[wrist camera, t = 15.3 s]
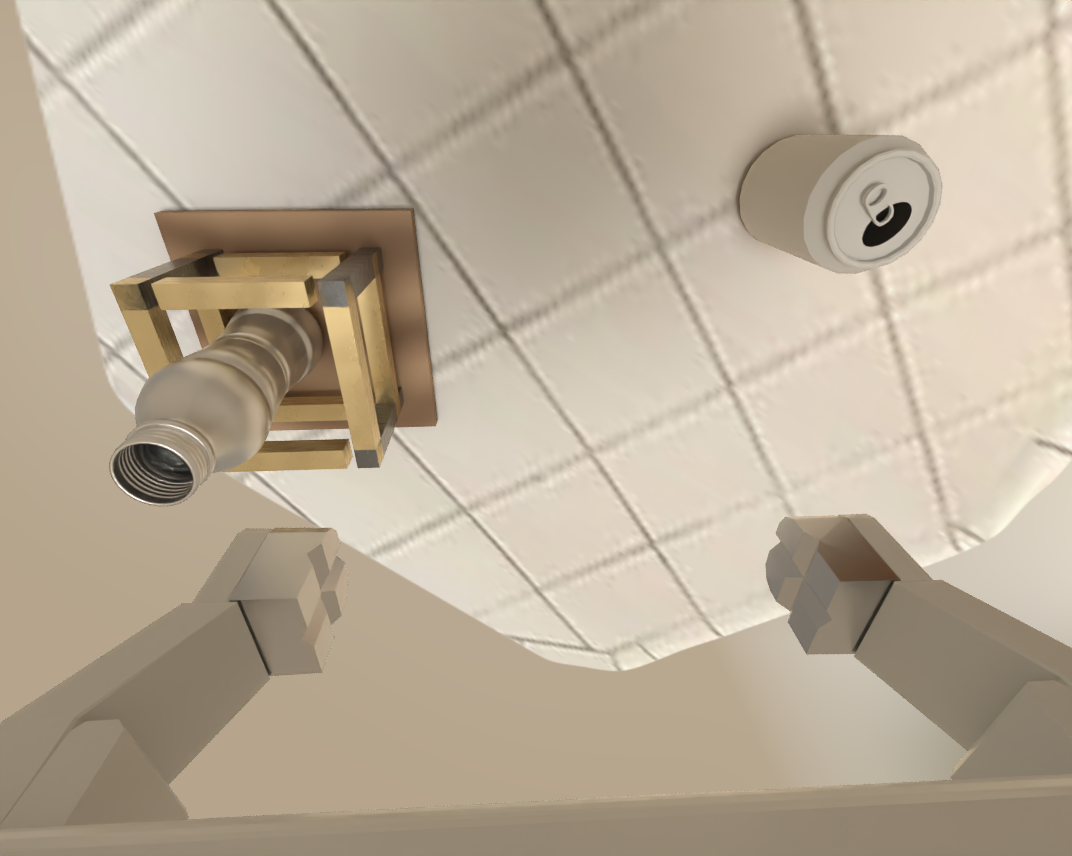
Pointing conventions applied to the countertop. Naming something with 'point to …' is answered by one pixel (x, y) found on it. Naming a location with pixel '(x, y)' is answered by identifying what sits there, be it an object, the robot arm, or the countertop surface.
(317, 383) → the walnut board
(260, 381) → the plastic bottle
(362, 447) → the frame
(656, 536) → the countertop surface
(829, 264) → the can
